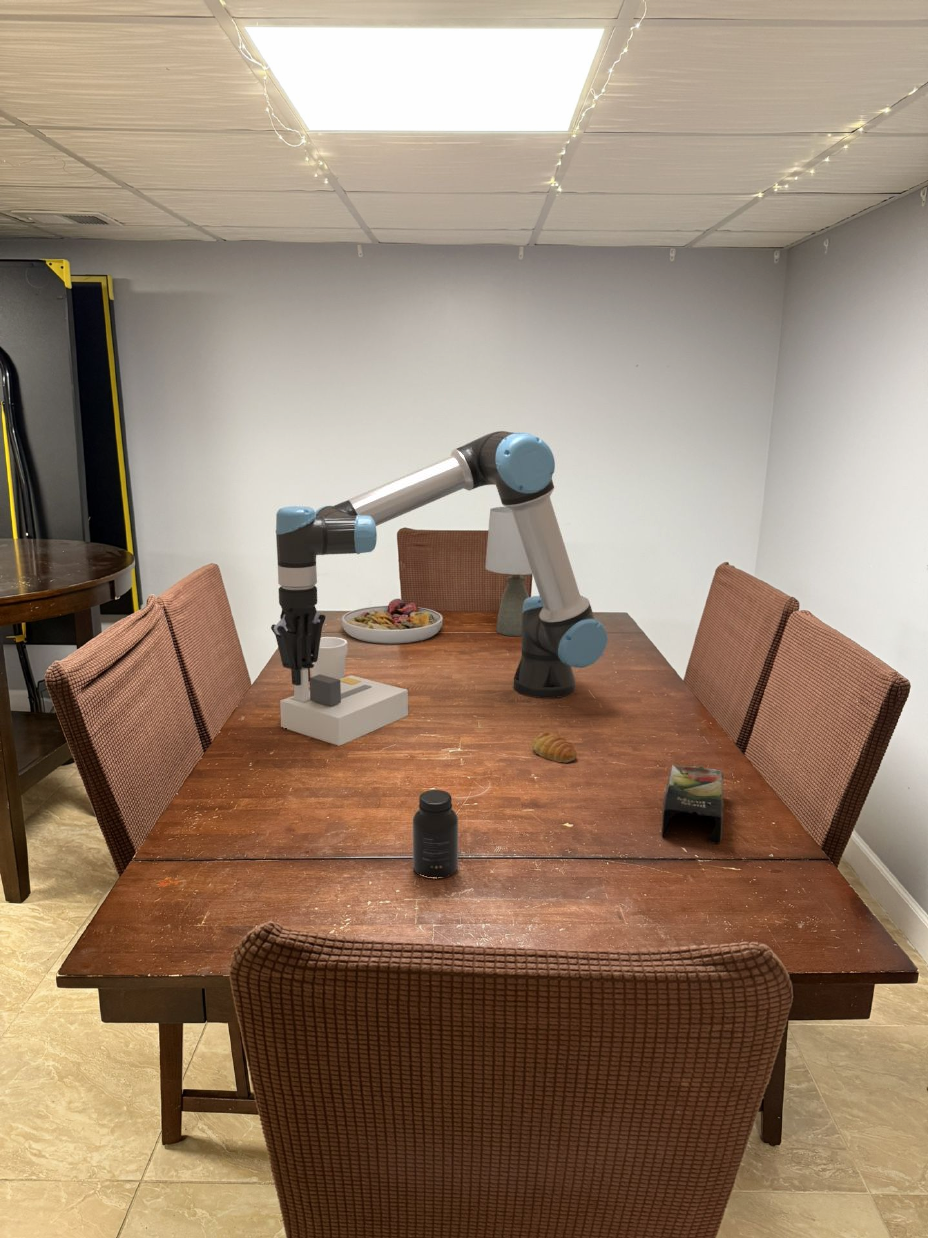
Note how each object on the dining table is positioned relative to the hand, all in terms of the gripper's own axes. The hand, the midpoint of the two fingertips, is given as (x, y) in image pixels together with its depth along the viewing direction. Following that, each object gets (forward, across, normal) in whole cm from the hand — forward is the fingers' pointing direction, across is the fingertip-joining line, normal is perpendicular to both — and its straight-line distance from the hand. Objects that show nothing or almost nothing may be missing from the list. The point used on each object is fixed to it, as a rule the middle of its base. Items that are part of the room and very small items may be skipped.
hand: (301, 698), depth 179 cm
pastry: (+9, -25, +45) cm, 53 cm away
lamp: (+9, -99, -11) cm, 100 cm away
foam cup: (+9, -23, -15) cm, 29 cm away
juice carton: (+10, -16, +78) cm, 80 cm away
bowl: (+9, -76, -40) cm, 86 cm away
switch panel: (+9, -13, 0) cm, 16 cm away
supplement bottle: (+9, +24, +53) cm, 59 cm away
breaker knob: (+3, -7, 0) cm, 7 cm away
